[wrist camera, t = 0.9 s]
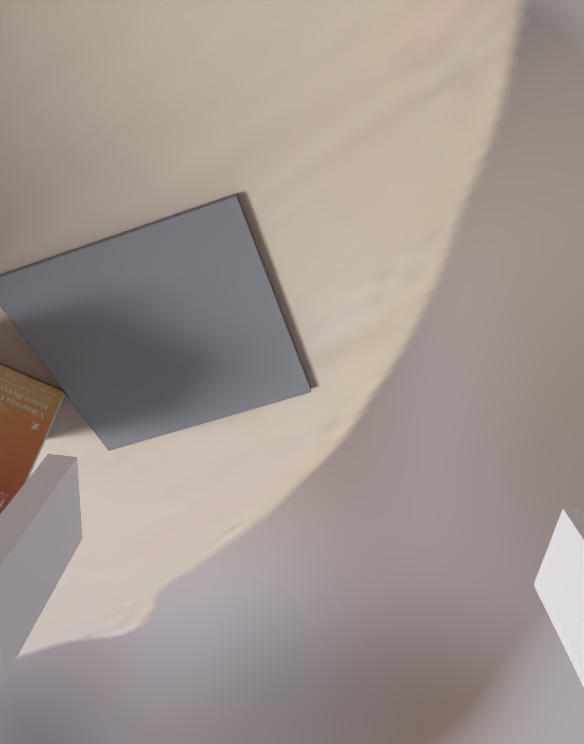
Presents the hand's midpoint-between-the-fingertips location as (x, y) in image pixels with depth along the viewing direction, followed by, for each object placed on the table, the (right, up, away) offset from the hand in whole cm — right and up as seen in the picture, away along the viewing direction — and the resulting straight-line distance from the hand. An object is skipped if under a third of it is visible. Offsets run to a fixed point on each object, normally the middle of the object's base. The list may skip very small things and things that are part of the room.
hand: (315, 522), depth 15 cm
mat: (-9, +6, +19) cm, 22 cm away
